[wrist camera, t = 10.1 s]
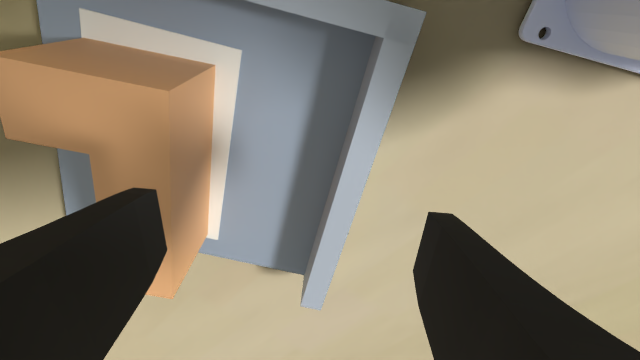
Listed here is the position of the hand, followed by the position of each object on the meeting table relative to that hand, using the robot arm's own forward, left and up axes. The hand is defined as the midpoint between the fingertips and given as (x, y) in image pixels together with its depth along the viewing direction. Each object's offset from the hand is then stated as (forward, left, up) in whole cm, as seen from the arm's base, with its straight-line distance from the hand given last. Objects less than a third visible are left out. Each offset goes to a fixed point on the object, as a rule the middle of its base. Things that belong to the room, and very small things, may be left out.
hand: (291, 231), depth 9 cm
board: (+5, +2, -10) cm, 11 cm away
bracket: (+8, +3, -9) cm, 12 cm away
